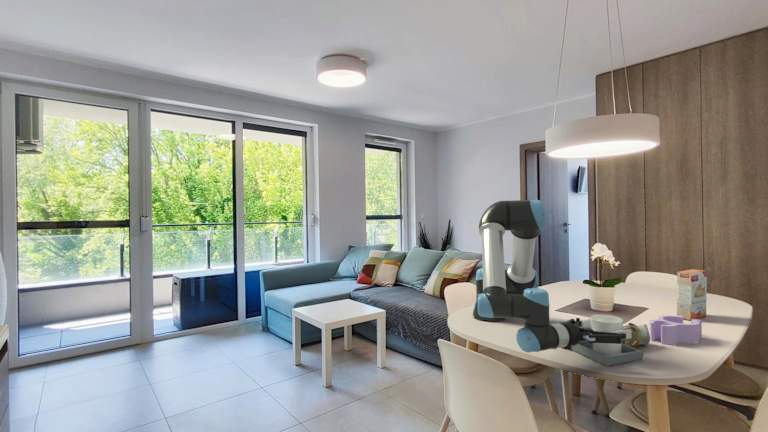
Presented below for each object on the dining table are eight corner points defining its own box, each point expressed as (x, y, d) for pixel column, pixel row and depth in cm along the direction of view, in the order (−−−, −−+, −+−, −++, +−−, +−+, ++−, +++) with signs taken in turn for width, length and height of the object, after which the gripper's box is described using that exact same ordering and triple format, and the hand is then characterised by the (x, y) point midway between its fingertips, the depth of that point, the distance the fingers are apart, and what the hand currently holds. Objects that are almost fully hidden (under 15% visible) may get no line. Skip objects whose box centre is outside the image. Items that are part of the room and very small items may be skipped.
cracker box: (692, 321, 167) (692, 273, 166) (676, 318, 172) (676, 271, 172) (707, 316, 173) (707, 270, 173) (692, 313, 179) (691, 268, 178)
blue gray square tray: (571, 350, 136) (571, 342, 136) (604, 345, 141) (604, 337, 141) (607, 366, 122) (607, 357, 122) (643, 360, 126) (643, 351, 126)
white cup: (593, 346, 139) (593, 312, 139) (625, 351, 133) (625, 317, 132) (587, 354, 131) (587, 319, 131) (621, 361, 125) (620, 324, 125)
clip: (674, 348, 137) (674, 329, 136) (639, 337, 148) (639, 319, 148) (709, 340, 144) (709, 321, 144) (673, 330, 156) (673, 313, 155)
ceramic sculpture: (659, 323, 136) (625, 330, 132) (661, 348, 136) (627, 355, 132) (633, 316, 146) (600, 322, 142) (634, 338, 146) (602, 345, 143)
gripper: (536, 334, 138) (583, 328, 144) (593, 360, 114) (647, 351, 120) (536, 313, 138) (583, 308, 144) (592, 335, 114) (646, 327, 120)
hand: (612, 327), depth 132 cm, fingers open, 13 cm apart
